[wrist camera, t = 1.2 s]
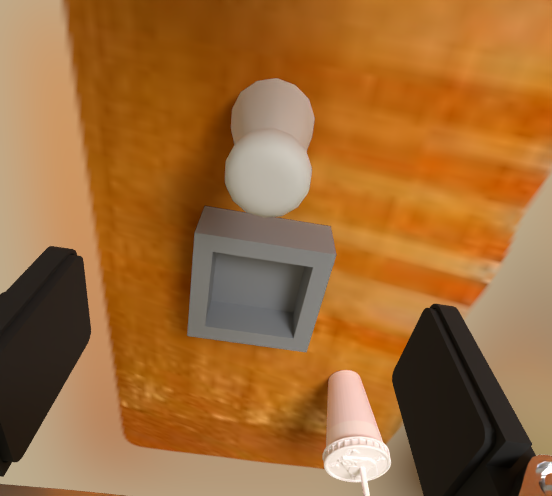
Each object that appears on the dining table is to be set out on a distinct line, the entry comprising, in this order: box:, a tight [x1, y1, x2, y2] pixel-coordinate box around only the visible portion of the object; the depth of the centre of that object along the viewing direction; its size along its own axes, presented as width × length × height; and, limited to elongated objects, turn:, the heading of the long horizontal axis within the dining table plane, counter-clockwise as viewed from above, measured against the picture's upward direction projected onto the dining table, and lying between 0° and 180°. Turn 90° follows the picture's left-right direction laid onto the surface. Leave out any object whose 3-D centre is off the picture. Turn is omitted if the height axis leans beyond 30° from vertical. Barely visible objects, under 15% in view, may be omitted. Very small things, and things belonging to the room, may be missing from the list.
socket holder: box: [187, 206, 336, 352], centre depth 35 cm, size 11×11×4 cm
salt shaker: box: [225, 78, 315, 218], centre depth 24 cm, size 6×6×13 cm
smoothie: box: [323, 370, 391, 496], centre depth 39 cm, size 6×6×14 cm
